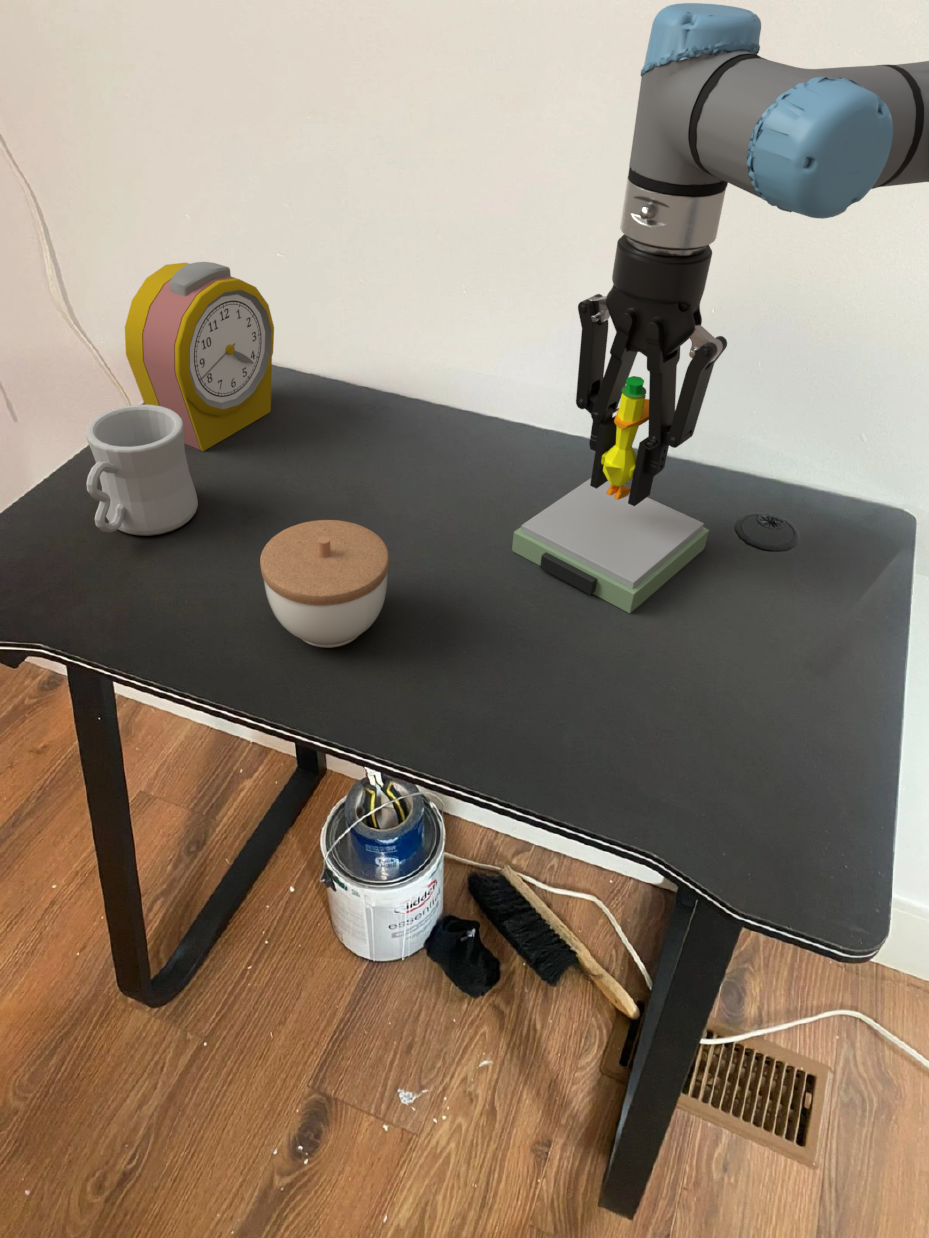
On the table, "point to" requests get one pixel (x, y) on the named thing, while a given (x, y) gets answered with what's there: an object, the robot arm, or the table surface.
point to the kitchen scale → (610, 544)
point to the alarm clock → (202, 349)
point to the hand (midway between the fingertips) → (619, 490)
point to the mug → (140, 470)
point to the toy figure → (625, 437)
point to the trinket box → (325, 580)
